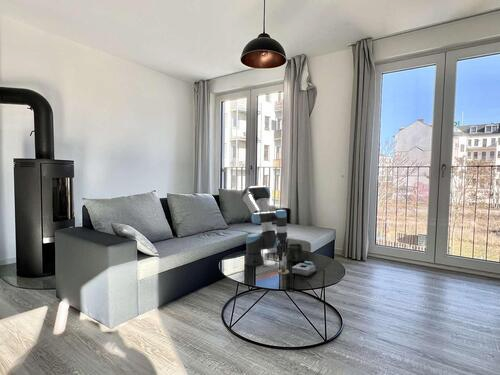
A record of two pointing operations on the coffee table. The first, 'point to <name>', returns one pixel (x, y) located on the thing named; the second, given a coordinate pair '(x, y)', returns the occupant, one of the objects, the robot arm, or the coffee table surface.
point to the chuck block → (304, 268)
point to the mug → (295, 252)
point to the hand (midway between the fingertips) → (283, 264)
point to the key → (283, 267)
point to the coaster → (283, 272)
